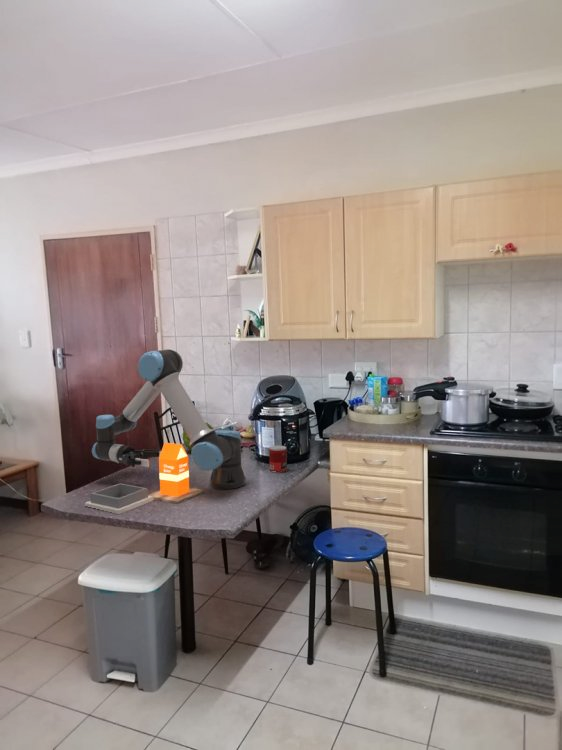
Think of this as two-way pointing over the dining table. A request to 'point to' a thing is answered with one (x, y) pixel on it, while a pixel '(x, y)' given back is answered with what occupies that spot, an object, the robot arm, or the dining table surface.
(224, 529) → the dining table surface
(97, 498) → the collar holder
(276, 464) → the canned food
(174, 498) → the oak board
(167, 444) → the orange juice
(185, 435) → the lettuce
